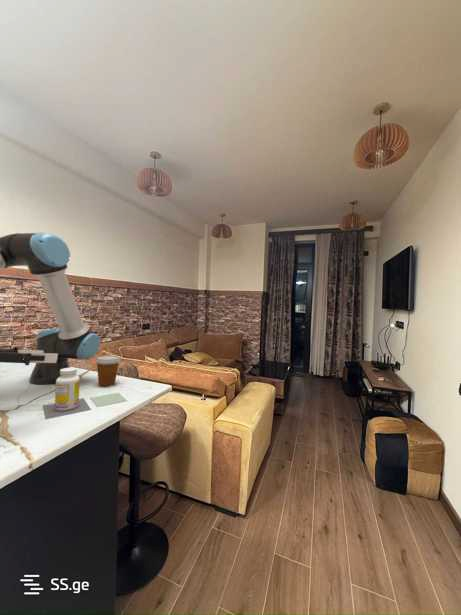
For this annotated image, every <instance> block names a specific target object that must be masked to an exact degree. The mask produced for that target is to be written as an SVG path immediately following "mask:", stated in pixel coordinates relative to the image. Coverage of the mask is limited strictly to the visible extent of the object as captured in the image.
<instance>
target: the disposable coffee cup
mask: <svg viewBox="0 0 461 615" xmlns="http://www.w3.org/2000/svg"><path fill="white" fill-rule="evenodd" d="M120 361H121V359H120V357H119V356H118V355H102V356H101V355H100V356H98V357H96V360H95V362H96V366H97V380H98V386H99V387H102V388H108V387H112V385H113V386H114V385H115V384H116V378H117V375H118V374H117V373H118V369H119V363H120Z"/></svg>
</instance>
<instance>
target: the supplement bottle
mask: <svg viewBox="0 0 461 615" xmlns="http://www.w3.org/2000/svg"><path fill="white" fill-rule="evenodd" d="M77 370H78V368H76V367H70V368H64V369H61V370H60V375H61V376H60V377H59V378H58V379H57V380H56V383H55V392H54V393H55V396H54V398H55V399H54V403H55V409H56V410H59V411H65V410H70V409H73V408H75V407H77V406H78V403H79V399H80V383H81V382H80V380H81V378H80V376H79V375H77Z"/></svg>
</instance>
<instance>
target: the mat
mask: <svg viewBox="0 0 461 615" xmlns="http://www.w3.org/2000/svg"><path fill="white" fill-rule="evenodd" d="M90 400H91V401H92V402H93V404H94V406H95V407H96V408H99V407H104V406H108V405H113V404H118V403H124V402H127V401H128V400H127V399H126V398H125V397H124V396H123V395H121V393H119V392H114V393H109V394H103V395H98V396H94V397H92V396H91V397H90Z"/></svg>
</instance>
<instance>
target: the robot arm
mask: <svg viewBox="0 0 461 615" xmlns="http://www.w3.org/2000/svg"><path fill="white" fill-rule="evenodd" d="M70 257H71V252H70V248H69V246H68V245H67V242H65V241H64V240H63V238H61V237H59V236H58V235H56V234H52V233H46V232H45V233H44V232H28V233H27V232H26V233H19V232H17V233H11V234H7V235H4V236H0V271H2V270H5V269H8V268H11V267H12V268H13V267H19V266H21V267H22V266H25V267H27V268H28V271H29V273H30V275H31V276H34V277H36V278H38V281H39V283H40V285H41V288H42V290H43V292H44V295H45V298H46V299H47V302H48V304H49V307H50V310H51V312H52V313H53V315H54V318H55V321H56V323H57V325H58V328H50V329H48V328H47V329H41V330H39V331H38V333H37V338H36V350H35V349H19V347H12V348H13V349H12V348H8V349H7V348H5V349H3V348H1V349H0V363H6V364H8V363H10V364H11V363H12V364H24V366H29V365H30V364H35V366H34V367H33V370H32V372H31V374H30V377H29V382H30V383H31V384H32V385H33V384H34V385H52V384H56V380H57V379H58V378H59V377H60V376H61V375H60V370H61V369H64V368H71V366H70V364H69V359H70V360H79V361H82V360H91V359H92V358H93V357H95V356H96V354H97V353H98V352H99V349H100V345H101V338H100V336H99V335H98V334H97V333H92V331H91V328H90V325H88V324H85V323H84V320H83V318H82V315H81V313H80V309H79V308H78V305H77V301H76V299H75V296H74V294H73V290H72V288H71V286H70V283H69V281H68V278H67V274H66V270H67V269H68V268H69V267H68V263H69V261H70Z"/></svg>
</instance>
